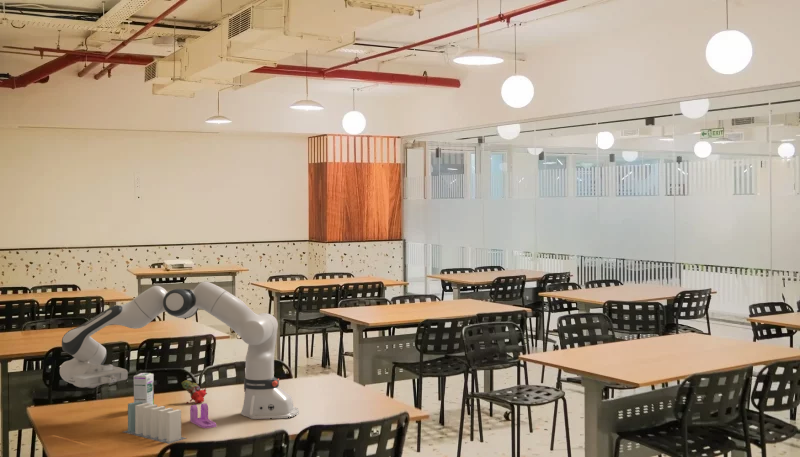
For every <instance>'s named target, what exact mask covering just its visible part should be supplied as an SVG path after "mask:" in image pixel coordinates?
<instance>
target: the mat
mask: <svg viewBox="0 0 800 457" xmlns="http://www.w3.org/2000/svg"><path fill="white" fill-rule="evenodd" d="M123 433H125V434H129V435H133V436H135V437H136V436H137V437H140V438H145V439H148V440H153V441H156V442H159V443H164V444H172V443H175V442H180V441H183V440H186V439H187V437H183V436H181V439H178V440H175V441H171V442H168V441H166V439H163V440H160V439H158V437H155V438H152V437H151V435H148V436H144V435H143V433H140V434H136V433H135V431H133V432H128V429H127V430H124V431H123Z"/></svg>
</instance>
